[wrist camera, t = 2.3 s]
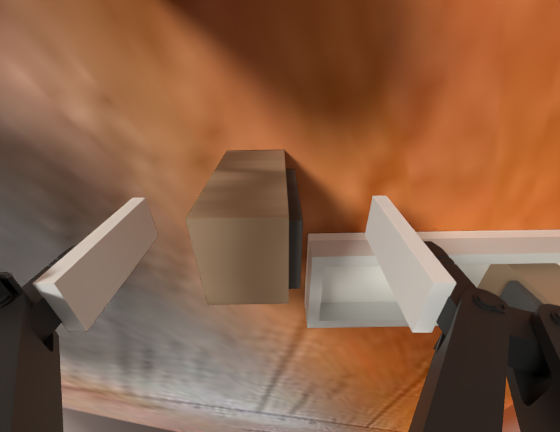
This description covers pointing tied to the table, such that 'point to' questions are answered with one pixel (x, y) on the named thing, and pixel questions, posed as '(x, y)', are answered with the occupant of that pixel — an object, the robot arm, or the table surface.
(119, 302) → the table surface
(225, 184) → the block
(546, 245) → the rail
